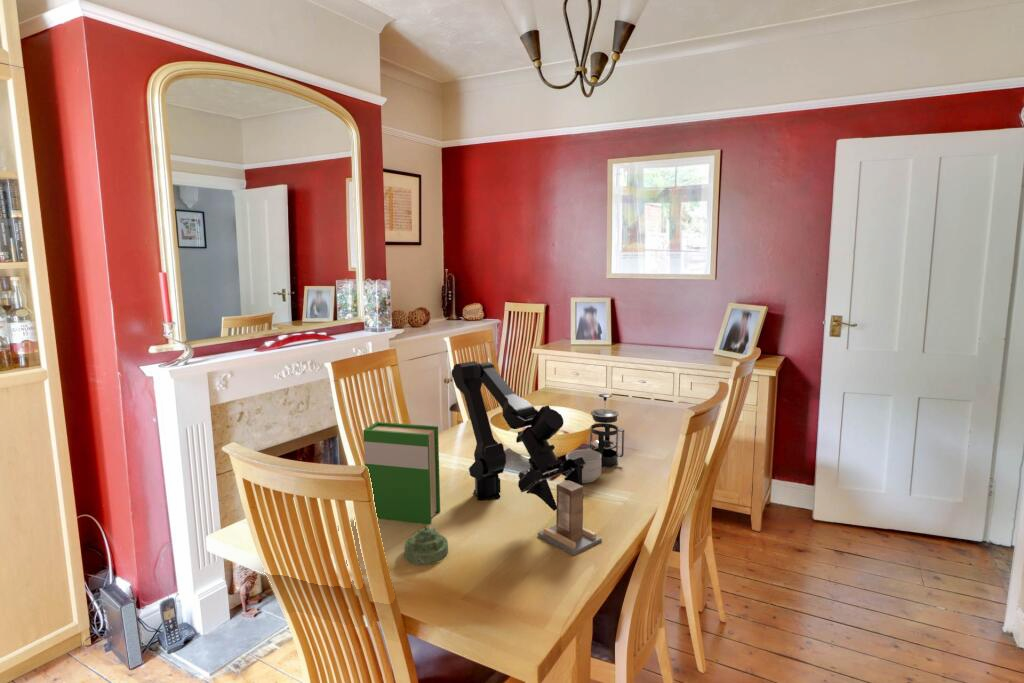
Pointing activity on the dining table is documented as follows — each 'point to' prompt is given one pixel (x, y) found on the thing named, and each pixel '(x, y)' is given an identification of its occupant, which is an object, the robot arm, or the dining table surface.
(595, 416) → the french press
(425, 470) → the hardback book
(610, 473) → the dining table surface
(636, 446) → the dining table surface
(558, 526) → the wooden block
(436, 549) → the decorative artifact
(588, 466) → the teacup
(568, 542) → the grey stand base
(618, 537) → the dining table surface
